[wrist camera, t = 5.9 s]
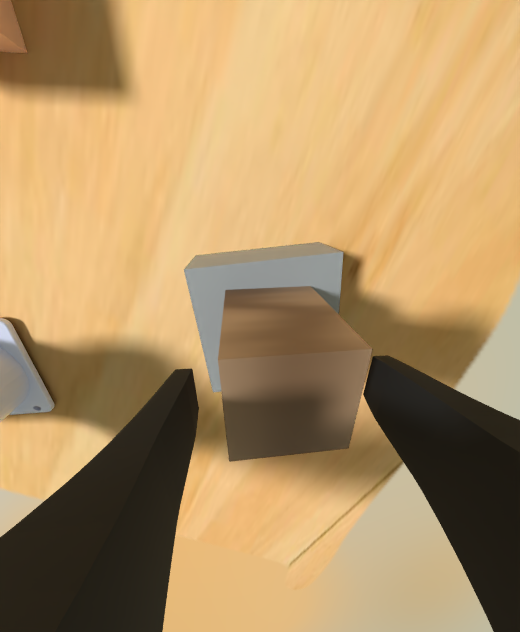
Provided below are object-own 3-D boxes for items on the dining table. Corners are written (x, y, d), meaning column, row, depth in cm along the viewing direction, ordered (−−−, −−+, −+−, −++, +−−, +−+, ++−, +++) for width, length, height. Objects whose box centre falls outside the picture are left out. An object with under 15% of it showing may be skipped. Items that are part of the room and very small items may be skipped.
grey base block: (217, 355, 18) (213, 392, 14) (196, 254, 15) (183, 269, 11) (315, 343, 18) (334, 375, 15) (317, 241, 15) (343, 251, 11)
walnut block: (231, 361, 14) (229, 461, 8) (225, 289, 12) (217, 359, 6) (304, 355, 14) (348, 448, 9) (310, 285, 12) (372, 348, 7)
